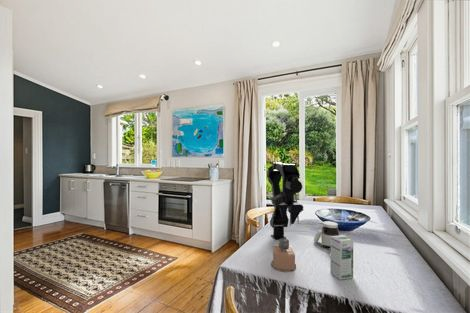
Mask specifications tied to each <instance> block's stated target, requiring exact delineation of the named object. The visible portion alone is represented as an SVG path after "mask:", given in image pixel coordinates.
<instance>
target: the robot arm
mask: <svg viewBox="0 0 470 313" xmlns="http://www.w3.org/2000/svg"><path fill="white" fill-rule="evenodd" d="M266 178H267V181H268V183H269V184H270V185H271V192H272V197H270V201H271V204H272V205H273V212H272V213H271V218H270V220H269V221H270V222H269V225H270V227H271V228H272V229H273V232H272V234H270V236H271V237H272V238H273V239H274V240H275V241H276V240H277V241H279V239H282V238H284V239H287V237H286V236H285V228H288V225H289V222H290V219H291V225H294V224H295V223H296V221H297V217H298V215H300V214H301V213H302V212H303V211H304V205H303V204H301V203H298V202H297V203H296V199H295V194H296V195H297V193H300V192H301V191H302V190H303V183H302V182H301V181H300V180H299V179H301V178H300V171H299V170H298V166H297V165H296V164H294V163H282V162H281V161H277V162H276V161H274V162H272V164H271V166H269V167H268V168H267V170H266ZM281 180H282V181H281ZM280 182H282V186H281V185H280ZM280 186H281V187H282V190H281V187H280ZM288 213H289V216H288Z"/></svg>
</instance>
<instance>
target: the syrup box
mask: <svg viewBox="0 0 470 313" xmlns="http://www.w3.org/2000/svg"><path fill="white" fill-rule="evenodd" d="M329 264H330V266H329V267H330V271H329V272H330V274H332V275H333V276H334V277H336V278H337V279H338V280H340V281H342V280H349V279H353V278H354V239H352V238H351V237H349V236H347V235H344V234H341V235H340V234H339V236H331V249H330V262H329Z"/></svg>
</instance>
